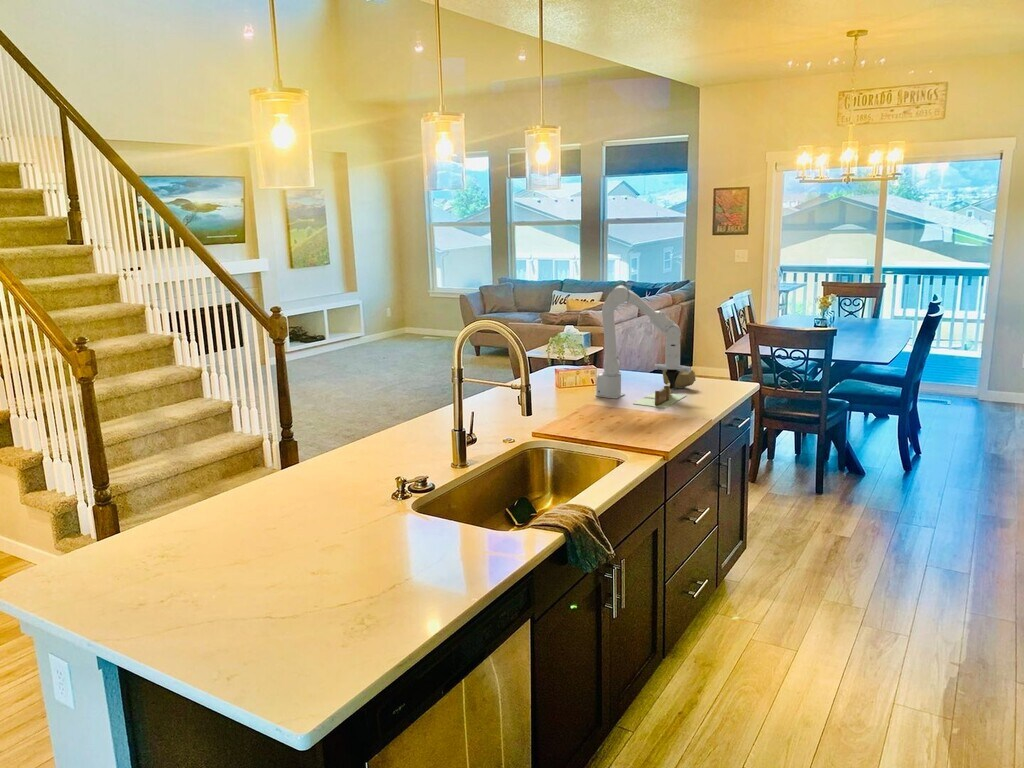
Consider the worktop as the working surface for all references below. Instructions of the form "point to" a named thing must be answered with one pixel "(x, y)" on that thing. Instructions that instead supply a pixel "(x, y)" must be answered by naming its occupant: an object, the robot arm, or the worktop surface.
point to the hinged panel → (669, 388)
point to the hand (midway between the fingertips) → (672, 388)
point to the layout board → (651, 402)
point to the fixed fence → (661, 395)
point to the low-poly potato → (681, 379)
